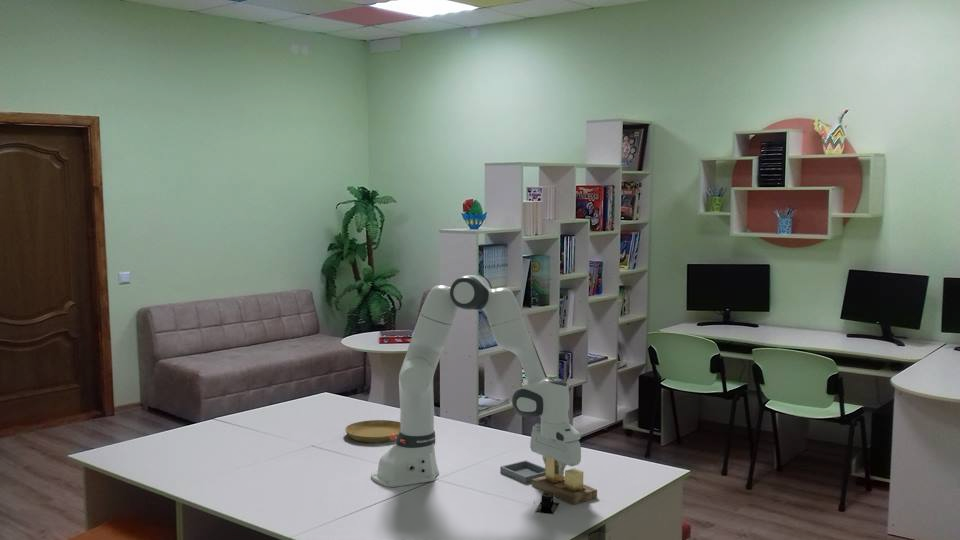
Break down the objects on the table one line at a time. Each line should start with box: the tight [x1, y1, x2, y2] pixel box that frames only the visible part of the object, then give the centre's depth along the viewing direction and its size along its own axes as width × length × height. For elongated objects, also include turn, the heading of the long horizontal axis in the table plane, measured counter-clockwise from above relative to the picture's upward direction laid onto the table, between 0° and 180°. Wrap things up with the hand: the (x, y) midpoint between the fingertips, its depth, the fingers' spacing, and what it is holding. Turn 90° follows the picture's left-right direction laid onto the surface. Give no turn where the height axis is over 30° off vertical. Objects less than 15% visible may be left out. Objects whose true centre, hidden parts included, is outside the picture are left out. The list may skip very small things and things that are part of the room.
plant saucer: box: [344, 419, 400, 444], centre depth 319 cm, size 24×24×3 cm
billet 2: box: [564, 468, 584, 493], centre depth 255 cm, size 4×4×8 cm
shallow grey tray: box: [499, 460, 546, 485], centre depth 274 cm, size 11×13×2 cm
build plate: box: [534, 491, 560, 515], centre depth 246 cm, size 12×7×5 cm, turn 164°
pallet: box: [531, 476, 598, 506], centre depth 259 cm, size 10×19×2 cm, turn 37°
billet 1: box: [546, 455, 565, 484], centre depth 262 cm, size 4×4×8 cm
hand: (554, 472), depth 262 cm, fingers closed on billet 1, 4 cm apart
